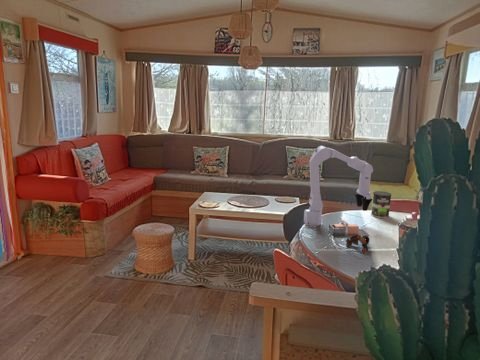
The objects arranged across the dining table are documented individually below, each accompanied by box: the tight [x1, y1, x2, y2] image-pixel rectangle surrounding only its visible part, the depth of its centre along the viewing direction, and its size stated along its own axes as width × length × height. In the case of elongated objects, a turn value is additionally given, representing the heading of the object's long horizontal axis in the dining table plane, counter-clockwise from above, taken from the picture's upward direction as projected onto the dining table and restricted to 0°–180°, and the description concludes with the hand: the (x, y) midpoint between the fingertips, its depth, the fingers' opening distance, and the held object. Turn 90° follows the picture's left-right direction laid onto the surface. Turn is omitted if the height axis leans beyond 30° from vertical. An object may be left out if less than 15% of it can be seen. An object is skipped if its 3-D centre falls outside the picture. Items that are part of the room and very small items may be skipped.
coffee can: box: [370, 190, 392, 219], centre depth 216 cm, size 10×10×14 cm
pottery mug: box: [345, 234, 370, 254], centre depth 166 cm, size 12×10×8 cm
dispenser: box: [327, 218, 370, 237], centre depth 184 cm, size 19×10×7 cm, turn 93°
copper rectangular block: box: [333, 223, 360, 234], centre depth 184 cm, size 12×4×4 cm, turn 93°
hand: (362, 208), depth 197 cm, fingers open, 7 cm apart
